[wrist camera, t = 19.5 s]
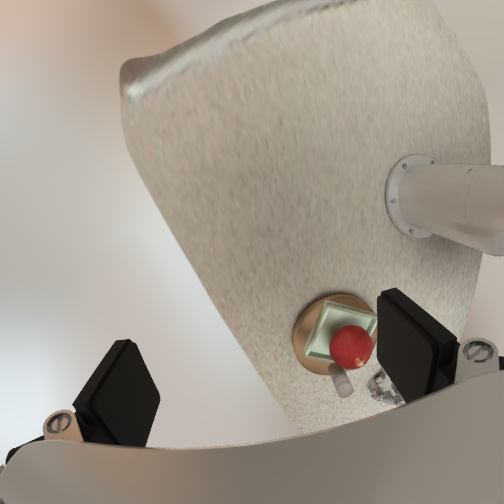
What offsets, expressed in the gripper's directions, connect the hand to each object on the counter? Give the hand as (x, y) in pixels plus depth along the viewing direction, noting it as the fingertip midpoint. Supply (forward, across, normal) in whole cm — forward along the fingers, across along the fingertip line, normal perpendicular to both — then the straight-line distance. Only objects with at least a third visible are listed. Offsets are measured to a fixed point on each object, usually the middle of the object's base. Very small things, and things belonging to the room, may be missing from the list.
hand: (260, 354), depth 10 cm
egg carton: (+29, -21, +34) cm, 49 cm away
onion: (+25, -10, +17) cm, 32 cm away
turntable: (+27, -9, +18) cm, 34 cm away
